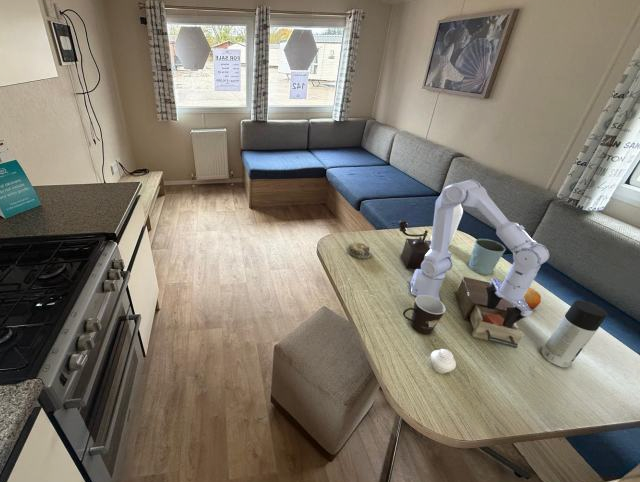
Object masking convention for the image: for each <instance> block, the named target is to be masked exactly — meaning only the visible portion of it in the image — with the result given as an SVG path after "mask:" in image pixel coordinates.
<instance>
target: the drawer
mask: <svg viewBox="0 0 640 482" xmlns="http://www.w3.org/2000/svg"><path fill="white" fill-rule="evenodd" d="M506 313H507V312H503V311H499V310H495V309H488V308H486V307H482V306H478V305H474V306H473V308H472V310H471V312H470V314H469V316H470V319H471V321H470V322H471V325H472V328H473V331H472V337H474V338H476V339H477V338H478V339H481V340H485V341H488V342H490V343H494V344H498V345H502V346H506V347H509V348H514V349H517V348H518V345H519V344H520V342H521V340H522V339H523V337H524V336H525V332H524V331H522V330H519V326H518V325H517V322H516V323H515V324H513V325H512V326H511V327H503V326H499V325H495V324H491V323H487V322H483V318H484V316H485V314H499V315H500V316H501V317H502V318H503V319H505V317H506Z"/></svg>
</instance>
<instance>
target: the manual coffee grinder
mask: <svg viewBox="0 0 640 482" xmlns="http://www.w3.org/2000/svg"><path fill="white" fill-rule="evenodd" d="M397 226H398V227H399V231H400V233H401V232H402V234H403V235H404V236H406V237H407V238H405V242H404V245H403V248H402V252H401V254H400V259H401V261H402V263H403V266H404V268H405V269H407V270H412V271H415V270H416V269H421V263H422V262H423V261H424V256H425V255H426V254H427V252H428V251H429V250H430V247H431V240H426V238H427V236H428V233H429V230H424V232H423V233H421V234H410V233H407V227H408V226H409V223H408V221H407V220H404V219H401V220H399V221H398V222H397ZM408 237H410V238H408ZM413 237H415V238H413ZM417 237H419V238H417Z"/></svg>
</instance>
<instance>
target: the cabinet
mask: <svg viewBox="0 0 640 482" xmlns="http://www.w3.org/2000/svg"><path fill="white" fill-rule="evenodd" d="M491 286H492V285H491V284H490V281H486V280H485V281H484V280H480V279H476V278H471V277H466V276H463V277H462V279H461V281H460V283H459V286H458V287H457V291H456V296H457V299H458V303H459V306H460V309H461V312H462V316H463V320H466V321H470V322H471V319H470V316H469V314H470V312H471V310H472V308H473V306H474V305H478V306H482V307H486V308H487V302H488V294H487V290H486V288H487V287H491ZM507 307H509V308H515V306H514V305H513V304H511V303H510V302H508V301H507V300H505V299H504V298H502V299H501V300H500V302H499V303H498V305H497V307H496V308H495V310H499V311H503V312H507V309H506V308H507Z"/></svg>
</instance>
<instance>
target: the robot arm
mask: <svg viewBox="0 0 640 482" xmlns="http://www.w3.org/2000/svg"><path fill="white" fill-rule="evenodd" d="M459 204H461V205H462V206H464V207H470V208H476V209H477V210H478V211H479V212H480V213H481V214H482V215H483V216H484V217H485V218H486V219H487V220H488V221H489V222H490V224H492V225H493V226H494V227H495V228H496V230H495V231H496V232H495V234H496V235H497V237H498V238H499V240H501V241H502V243H503V244H504V245H505V247H507V248H508V250H509V251H510V252H511V253H512V254H513V255H512V260H513V263H512V265H511V266H510V268H509V269H508V272H507V274H506V276H505V277H504V279H503V282H502V280H500V279H499V278H491V279H490V280H489V282H490V284H491V285H492V286H491V287H487V288H486V290H487V294H488V302H487V308H488V309H495V308H496V307H497V305H498V303H499V302H500V300H501V299H502V298H504V299H505V300H507V301H508V302H510V303H511V304H513V305H514V307H515V308H509V307H507V308H506V309H507V313H506V317H505V319H504V322H503V326H504V327H511V326H512V325H513V324H515V323H516V324H517V323H518V322H519V321H521V320H522V319H525V318H528V317H529V318H530V317H531V316H532V314H533V310H531V309H530V308H529V307H528V305H527V303H526V301H525V299H524V298H523V297H524V296H525V294H526V292H527V290H528V289H529V288H531V285H532V283H533V281H534V280H535V278H536V276H537V275H538V272H539V270H540V268H541V266H542V264H545V263H546V262H547V261H548V260H549V258H550V252H549V250H548V249H547V247H546V246H545V245H544V244H542V243H538V242H537V241H536V240H533V238H531V236H530V235H529V234H528V233H527V232H526V231H525V229H526V227H524V226H523V224H521V225H519V223H518V222H514V221H510V220H509V219H508V218H507V217H506V216H505V214H504V213H503V212H502V210H500V208H499V207H498V206H497V205H496V203H495V202H494V200H492V198H491V197H490V195H489V194H488V192H487V189H486V188H485V187H484V186H482V185H481V183H480V182H479V181H478V180H475V179H467V180H464V181H460V182H455V183H451V184H448V185H447V186H445V187H443V188H442V192H441V193H440V195H439V196H438V197H437V199H436V200H435V205H434V213H433V221H432V230H431V236H432V238H431V237H430V241H431V247H430V250H429V251H428V252H427V254H426V255H425V256H424V261H423V262H422V263H421V269H416V270H414V272H413V275H412V278H411V281H410V294H411V295H412V296H416V297H417V296H419V295H428V296H432V297H434V298H436V299H438V300H440V301H441V298H440V290H441V287H442V285H443V283H444V280H445V278H446V274H447V272H448V271H450V270H452V268H453V266H454V263H453V260H452V253H451V252H450V251H449V248H450V246H449V240H450V233H451V225H452V218H453V211H454V207H456V206H457V205H459Z"/></svg>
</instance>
